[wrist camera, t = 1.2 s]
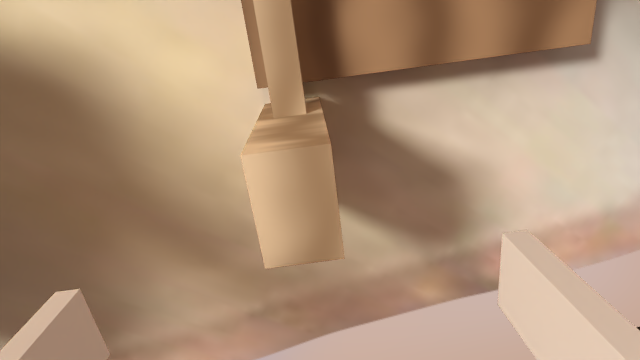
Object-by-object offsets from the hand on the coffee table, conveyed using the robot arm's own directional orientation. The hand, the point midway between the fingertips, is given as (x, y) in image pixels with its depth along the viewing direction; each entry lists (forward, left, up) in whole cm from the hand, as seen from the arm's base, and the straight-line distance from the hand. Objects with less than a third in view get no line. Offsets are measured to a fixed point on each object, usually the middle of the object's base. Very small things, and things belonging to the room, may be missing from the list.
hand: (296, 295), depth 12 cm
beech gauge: (0, +5, -18) cm, 19 cm away
